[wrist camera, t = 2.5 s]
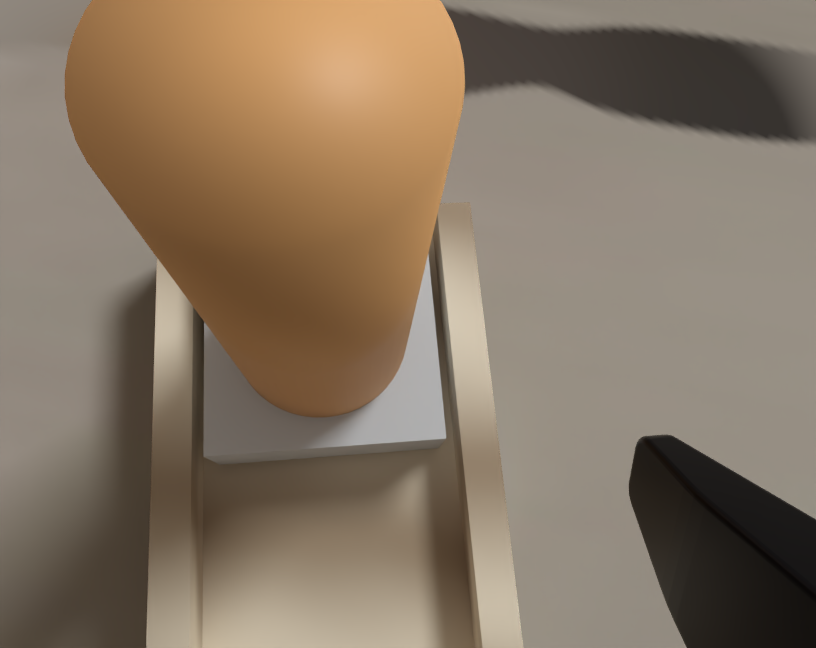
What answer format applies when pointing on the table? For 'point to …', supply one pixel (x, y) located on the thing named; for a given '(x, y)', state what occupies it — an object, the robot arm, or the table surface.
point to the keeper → (285, 202)
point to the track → (334, 507)
